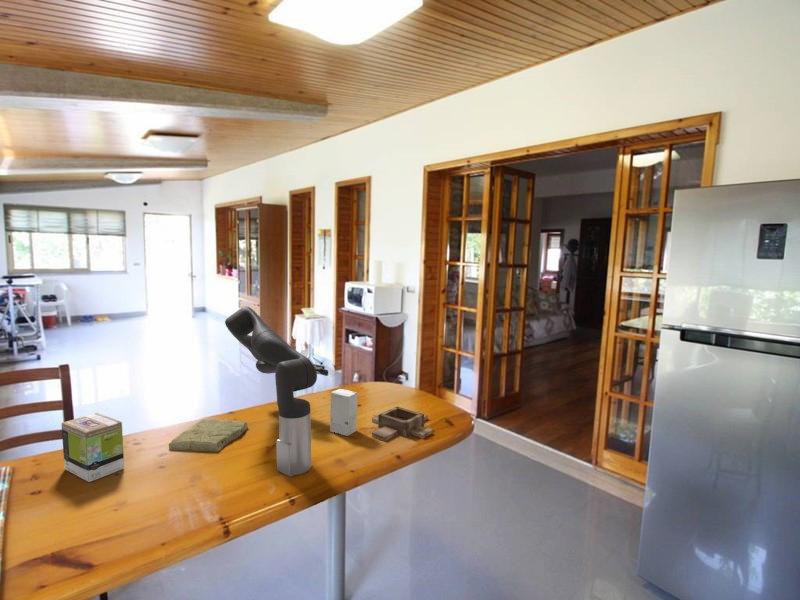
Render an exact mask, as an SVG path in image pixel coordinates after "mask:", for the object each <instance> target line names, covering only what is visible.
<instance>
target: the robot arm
mask: <svg viewBox="0 0 800 600" xmlns="http://www.w3.org/2000/svg"><path fill="white" fill-rule="evenodd" d="M224 325H225V327H226V328H227V331H228V332H230V334H231V335H232V336H233V337H234V338H235V339H236V340H237V341H238V342H239V343H240V344H242V345H243V346H244V347H245V348H246V349H247V350H248V351H249V352H250V353H251V355H252V356H253V358H254V359H255V360H256V363H255V368H256V369H257V371H258V372H260V373H262V374H268V375H270V374H274V375H275V376H274V377H275V389H276V402H277V403H276V404H277V409H278V437H279V438H278V439H276V443H275V444H276V446H275V447H276V471H277V472H280V473H282V474H284V475H285V476H287V477H289V478H290V477H293V476H298V475H303V474H304V473H305V474H306V472H309V471H310V470H311V468H312V431H311V430H312V429H311V427H312V426H311V425H312V423H311V422H312V420H311V417H312V416H311V414H312V413H311V403H310V402H309V401H308V400H306V399H303V398H298V397H295V396H294V393H295V392H298V391H302V390H307V389H309V388H311V387H313V386H314V385H315V384H316V382H317V380H318V375H321V376H325V377H327V376H328V375H329V370H328V369H326V366H325V365H321V364H317V363H316V364H315V363H313V362H312V361H311V360H310V359H309V358H308V357H306V356H305V355H303V354H302V353H300V352H299V351H297V349H295V348H293V347H292V346H291V345H290V344H289V343H288V342H287V341H285V340H284V339H283V338H282V337H281V336H280V335H279V334H278V333H277V332H276V331H275V330H274V329H273V328H271V327H270V326H269V325H268V324H267V323H265V321H264V320H263V319H262V318H261V317H260V315H259V314H258V313H257V312H256V311H255V310H254V309H253V308H251V307H250V306H243V307H241V308H239V309H238V310H237V311H235V312H234V313H232V314H231V315H229V316H228V317H226V319H225V321H224ZM250 334H251V335H250Z"/></svg>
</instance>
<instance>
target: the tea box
mask: <svg viewBox="0 0 800 600" xmlns="http://www.w3.org/2000/svg"><path fill="white" fill-rule="evenodd" d="M61 435H62V437H61V438H62V451H63V464H64V470H66V471H68V472H69V473H71V474H73V475H75V476H76V477H78V478H80V479H82V480H84V481H86V482H88V483H90V482H93V481H96V480H99V479H101V478H104V477H106V476H109V475H112V474H114V473H116V472H119V471H121V470H124V469H125V457H124V455H125V454H124V453H125V452H124V451H125V450H124V439H123V438H124V437H123V422H122V421H121V420H117V419H116V418H115V419H114V418H112V417H109V416H106V415H105V414H100V413H99V412H96V413H92V414H88V415H85V416H81V417H78V418H74V419H70V420H67V421H63V422H61Z"/></svg>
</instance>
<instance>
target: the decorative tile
mask: <svg viewBox="0 0 800 600" xmlns="http://www.w3.org/2000/svg"><path fill="white" fill-rule="evenodd" d="M248 429H249V426H248V422H247V421H245V420H244V421H243V420H242V421H241V420H240V421H239V420H231V419H220V420H219V419H214V418H213V419H211V418H210V419H202V420H199V421H198V422H196V423H195V424H192V425H191V426H190V427H189V428H187V429H186V430H184V431H183V432H181V433H179V435H178V436H176V437H175V438H173V439H172V440H171V441H170V442H169V443H168V450H171V451H172V450H173V451H174V450H176V451H193V452H194V451H197V452H216V453H217V452H220V451H222V450H223V448H224V447H225V446H226V445H228V444H229V443H231V442H232V441H234V440H237V439H238V438H239V437H241V436H242V434H243V433H244V432H245V431H247V430H248Z"/></svg>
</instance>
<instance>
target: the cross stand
mask: <svg viewBox="0 0 800 600" xmlns="http://www.w3.org/2000/svg"><path fill="white" fill-rule="evenodd" d="M428 419H429V418H428V415H427V414H424V413H421V412H417V411H414V410H411V409H410V410H409V409H407V408H402V407H399V406H395V407H392V408H390V409H387V410H385V411H384V412H381V413H378V415H376V416H374V417H372V418H371V422H372V423H374V424H377V426H378V428H379V429H377V430H375V431H372V432H371V437H372V438H374V439H377V440H380V441H383V442H387V441H389V440H390V439H393V438H394V437H396V436H398V435H400V436H402V437H405V438H407V437H408V436H413V437H415V438H420V439H423V440H424V439H425V438H426V437H428V436H430V435H432V434H433V429H432V428H429V427H428V426H427V427H426V426H425V421H426V420H428Z"/></svg>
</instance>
